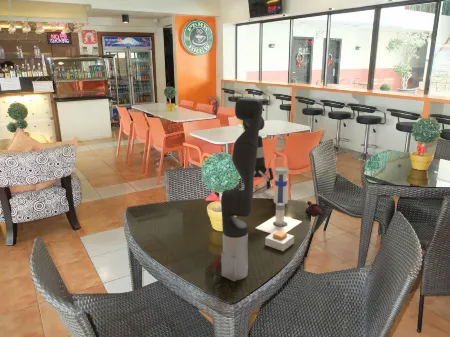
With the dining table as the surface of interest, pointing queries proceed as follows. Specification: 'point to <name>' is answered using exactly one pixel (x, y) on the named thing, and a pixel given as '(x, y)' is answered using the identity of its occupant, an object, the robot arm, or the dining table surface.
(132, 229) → the dining table surface
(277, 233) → the button
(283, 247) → the button housing
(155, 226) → the dining table surface
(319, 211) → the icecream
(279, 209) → the salt shaker
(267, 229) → the paper
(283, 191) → the water bottle
